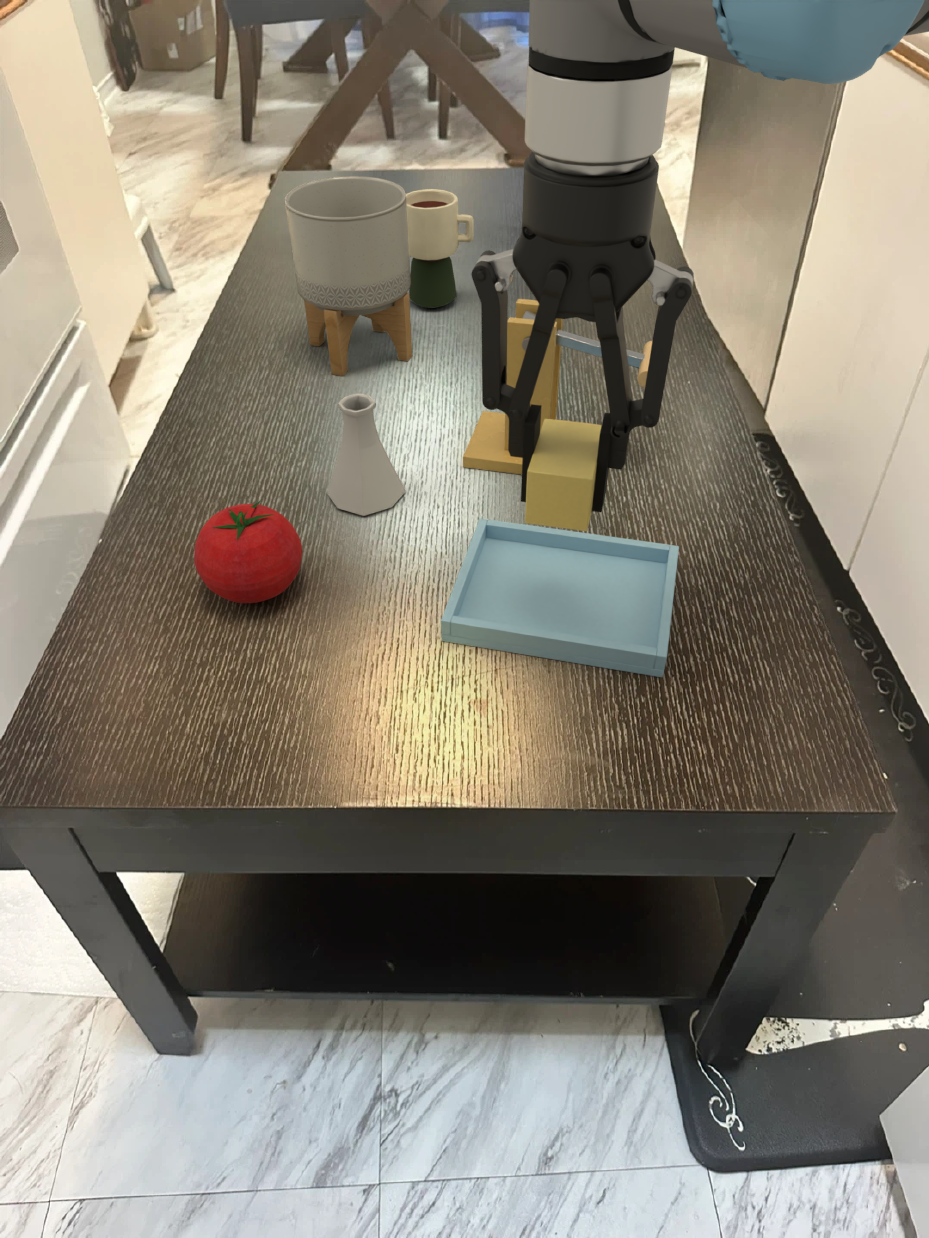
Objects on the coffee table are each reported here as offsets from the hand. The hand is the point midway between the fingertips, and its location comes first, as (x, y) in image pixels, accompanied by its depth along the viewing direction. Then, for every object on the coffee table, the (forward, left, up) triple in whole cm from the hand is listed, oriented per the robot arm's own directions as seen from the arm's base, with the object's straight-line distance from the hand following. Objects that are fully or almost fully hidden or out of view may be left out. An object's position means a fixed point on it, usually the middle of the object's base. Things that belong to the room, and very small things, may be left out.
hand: (563, 495), depth 65 cm
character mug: (+25, -55, -12) cm, 62 cm away
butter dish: (-1, -1, -12) cm, 12 cm away
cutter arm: (+2, -23, -1) cm, 23 cm away
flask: (+20, -12, -12) cm, 27 cm away
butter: (0, 0, 0) cm, 0 cm away
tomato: (+25, +3, -12) cm, 28 cm away
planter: (+30, -40, -12) cm, 52 cm away
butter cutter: (+6, -23, -12) cm, 27 cm away
